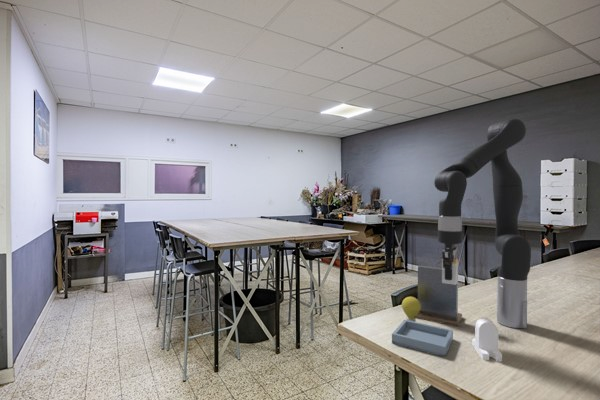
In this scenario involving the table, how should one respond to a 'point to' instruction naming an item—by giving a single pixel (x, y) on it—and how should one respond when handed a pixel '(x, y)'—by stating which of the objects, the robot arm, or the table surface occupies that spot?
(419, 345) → the tray
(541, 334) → the table surface
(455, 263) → the cartridge
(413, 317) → the light bulb
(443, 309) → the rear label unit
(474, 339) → the cable organizer
